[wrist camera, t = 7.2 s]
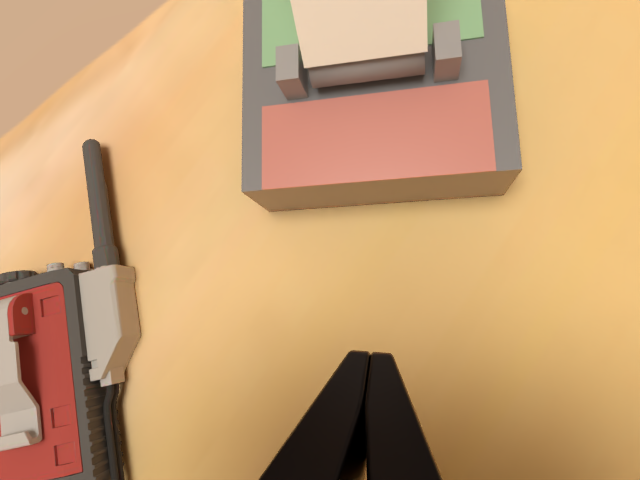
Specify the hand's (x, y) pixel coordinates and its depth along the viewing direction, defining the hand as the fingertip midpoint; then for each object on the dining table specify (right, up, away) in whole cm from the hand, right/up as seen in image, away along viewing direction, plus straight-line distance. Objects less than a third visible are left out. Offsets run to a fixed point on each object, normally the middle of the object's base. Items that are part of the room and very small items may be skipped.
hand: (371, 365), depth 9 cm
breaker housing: (+2, +9, +15) cm, 18 cm away
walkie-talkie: (-15, -2, +18) cm, 23 cm away
